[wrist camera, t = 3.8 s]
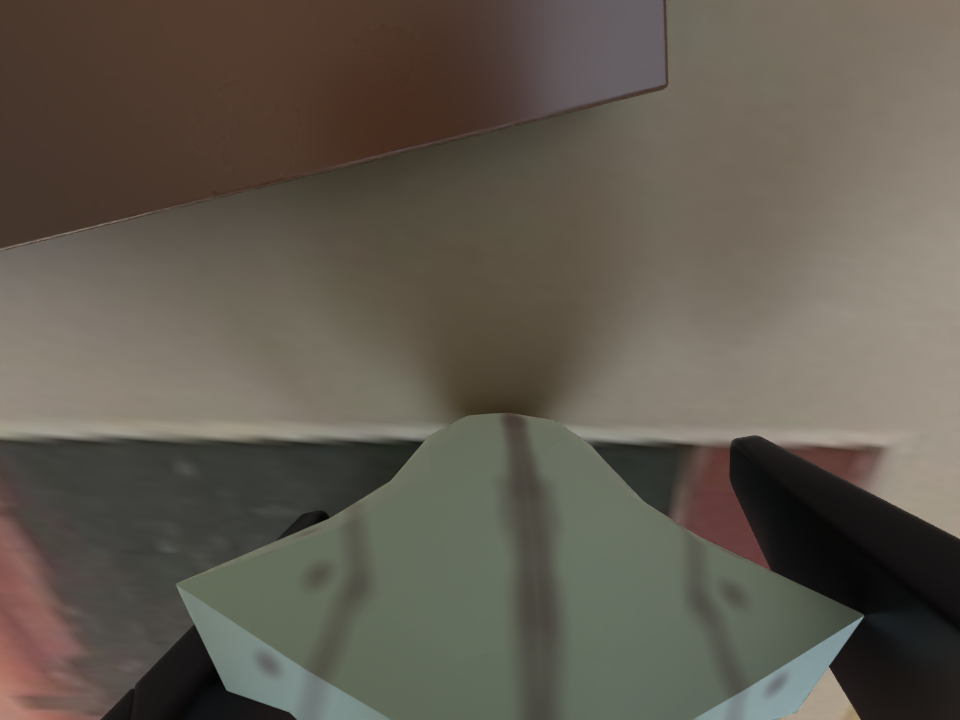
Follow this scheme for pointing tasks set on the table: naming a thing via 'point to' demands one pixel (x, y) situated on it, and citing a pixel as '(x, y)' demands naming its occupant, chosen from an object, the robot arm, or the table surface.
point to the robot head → (511, 599)
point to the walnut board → (280, 91)
